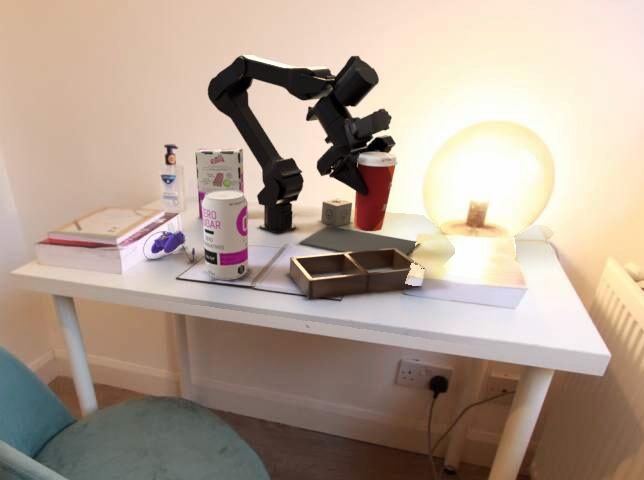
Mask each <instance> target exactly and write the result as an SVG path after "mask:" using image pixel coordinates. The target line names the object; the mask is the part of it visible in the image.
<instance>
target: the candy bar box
mask: <svg viewBox="0 0 644 480" xmlns="http://www.w3.org/2000/svg"><path fill="white" fill-rule="evenodd" d="M195 165H196V167H195V168H196V180H197V181H196V183H197V197H198V214H199V218H200V219H203V216H202V202H203V200H204V198H205V194H206V193H208V192H211V191H216V190H237V191H241V192H243V193H244V194H245V187H244V184H245V183H244V181H245V180H244V149H243V148H199V149H198V150H196V151H195Z"/></svg>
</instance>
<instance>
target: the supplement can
mask: <svg viewBox="0 0 644 480" xmlns="http://www.w3.org/2000/svg"><path fill="white" fill-rule="evenodd" d="M202 216H203V218H202V229H203V230H202V231H203V249H204V265H205V266H204V267H205V268H204V270H205V273H207V274H208V275H209V276H210V277H211V278H213V279H215V280H222V281H230V280H235V279H239V278H242V277H243V276H244V275H246V273H247V272H248V271H249V238H248V237H249V236H248V235H249V234H248V232H249V230H248V229H249V228H248V224H249V223H248V222H249V221H248V217H249V216H248V200H247V199H246V196H245V192H244V193H243V192H241V191H237V190H216V191H211V192H208V193H206V194H205V198H204V200H203V202H202Z"/></svg>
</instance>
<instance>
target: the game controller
mask: <svg viewBox="0 0 644 480" xmlns="http://www.w3.org/2000/svg"><path fill="white" fill-rule="evenodd" d="M158 233H160V231H157V232H155V233H153V234H151V235H150V236H149V237H148V238H147V239H146V241H145V242H144V245H143V248H142V250H143V255H144V256H145V258H146V259H147V260H149V261H156V260H160V259H164V258H166V257H168V256H170V255H172V254H174V253H177V252H180V251H182V250H184V253H185V254H186V256H187V258H188V259H189V261H190V262H191V263H193V262H194V257H195V254H196V250H195V247H192V250H191V255H192V260H191V258H190V256H189V255H188V253H187V250H186V249H185V248H184V247H185V242H186V241H187V240H186V235H185V234H184V233H183V232H182V230H177V231H175V232H172V231H170V232H169V231H166V230H163V231H161V234H160V236H159V237H157V238H156V239H154V240H153V241H154V242H153V244H152V245H151V248H150V251H151V253H152V254H158V253H160V252H164V253H165V254H167V255H164V256H161V257H158V258H154V259H152V258H148V257H147V256H146V254H145V245H146V243H147V241H149V239H150V238H151V237H152V236H155V235H156V234H158ZM180 246H181V247H182V248H181V249H179V250H178V248H179V247H180ZM176 249H177V250H176ZM175 250H176V251H175Z"/></svg>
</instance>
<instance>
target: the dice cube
mask: <svg viewBox="0 0 644 480" xmlns="http://www.w3.org/2000/svg"><path fill="white" fill-rule="evenodd" d="M321 205H322V207H321V218H320V219H321V220H320V222H321V223H323V224H326V225H328V226H331V227H341V226H345V225H348V224H351V218H352V211H353V209H352V208H353V202H351V201H347V200H345V199H341V198H339V197H338V198H334V199H329V200H323V201H322V204H321Z"/></svg>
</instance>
